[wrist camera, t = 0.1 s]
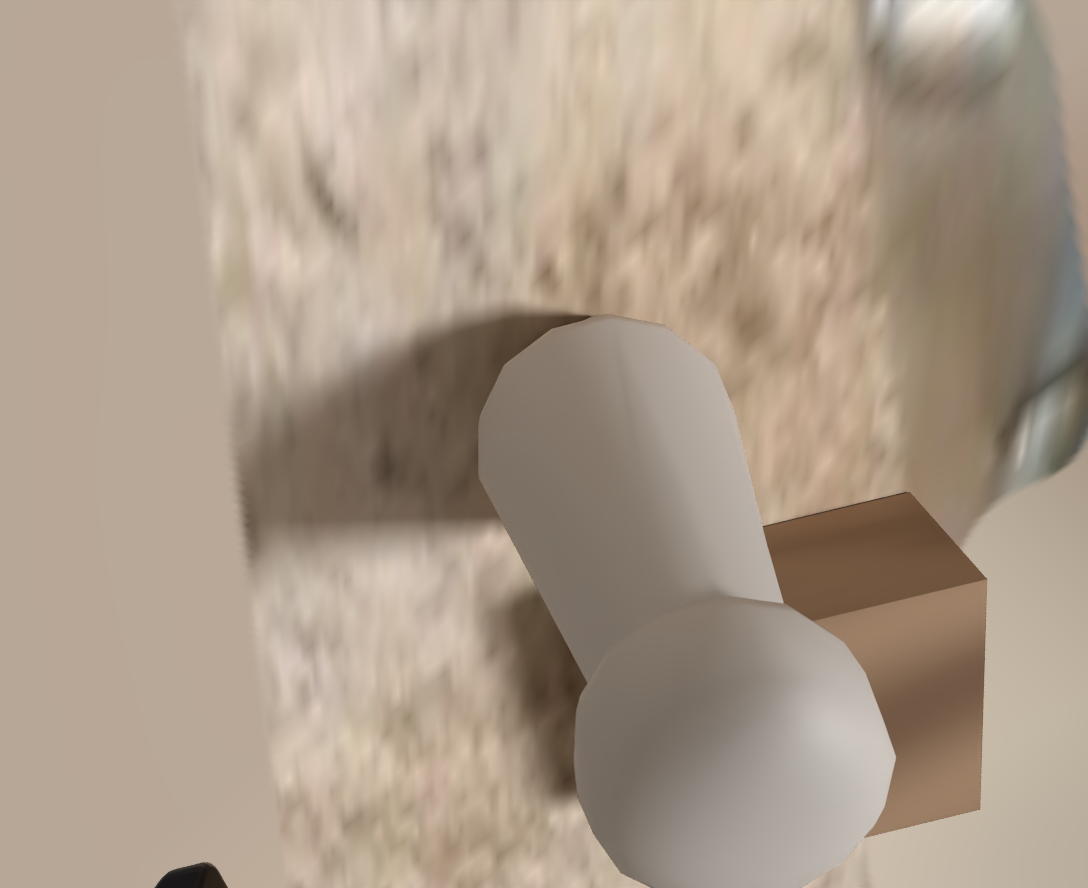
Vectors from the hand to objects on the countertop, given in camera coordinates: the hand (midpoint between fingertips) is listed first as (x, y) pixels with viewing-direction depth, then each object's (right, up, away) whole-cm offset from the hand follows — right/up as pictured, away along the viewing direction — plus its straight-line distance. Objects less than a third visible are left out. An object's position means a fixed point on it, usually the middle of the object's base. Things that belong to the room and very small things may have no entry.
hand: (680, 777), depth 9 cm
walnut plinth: (+5, -2, +19) cm, 20 cm away
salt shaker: (0, +4, +15) cm, 15 cm away
